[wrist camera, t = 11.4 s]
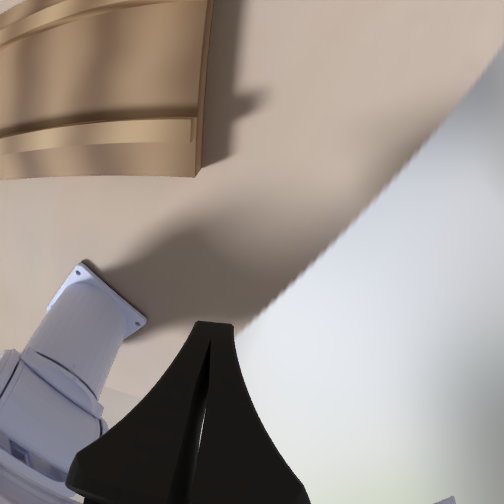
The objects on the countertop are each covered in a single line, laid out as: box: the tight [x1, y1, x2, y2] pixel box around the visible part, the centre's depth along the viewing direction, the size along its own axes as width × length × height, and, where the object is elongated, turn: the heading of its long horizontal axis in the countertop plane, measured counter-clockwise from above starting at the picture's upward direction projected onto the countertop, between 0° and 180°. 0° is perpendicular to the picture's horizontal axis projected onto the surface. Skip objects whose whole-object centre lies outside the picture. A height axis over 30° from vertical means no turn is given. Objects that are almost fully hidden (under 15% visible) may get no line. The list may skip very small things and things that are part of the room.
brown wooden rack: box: [0, 0, 214, 180], centre depth 12 cm, size 24×14×4 cm, turn 85°
